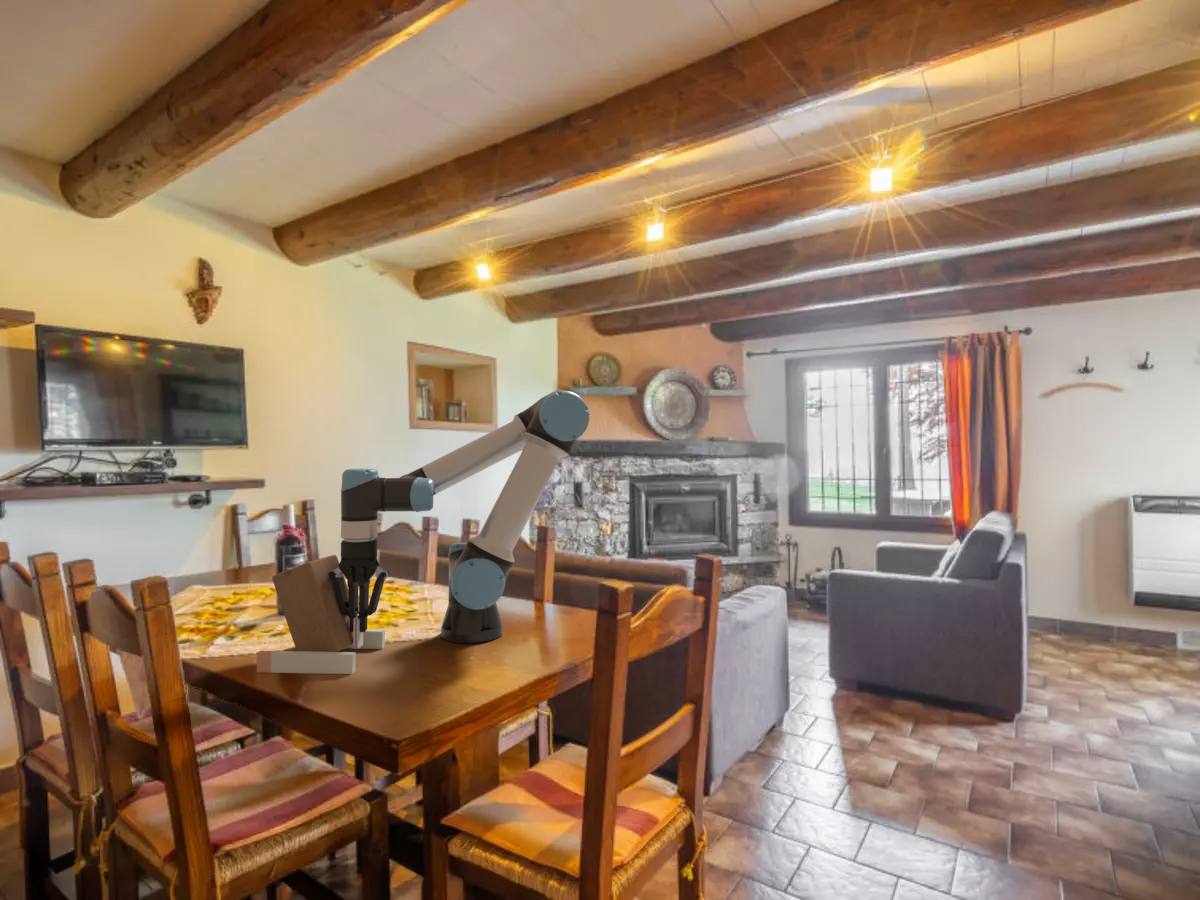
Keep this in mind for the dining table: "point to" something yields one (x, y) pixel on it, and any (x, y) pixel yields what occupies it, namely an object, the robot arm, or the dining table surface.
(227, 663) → the dining table surface
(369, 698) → the dining table surface
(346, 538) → the robot arm
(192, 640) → the dining table surface
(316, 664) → the white bars
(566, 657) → the dining table surface
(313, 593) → the wooden block
